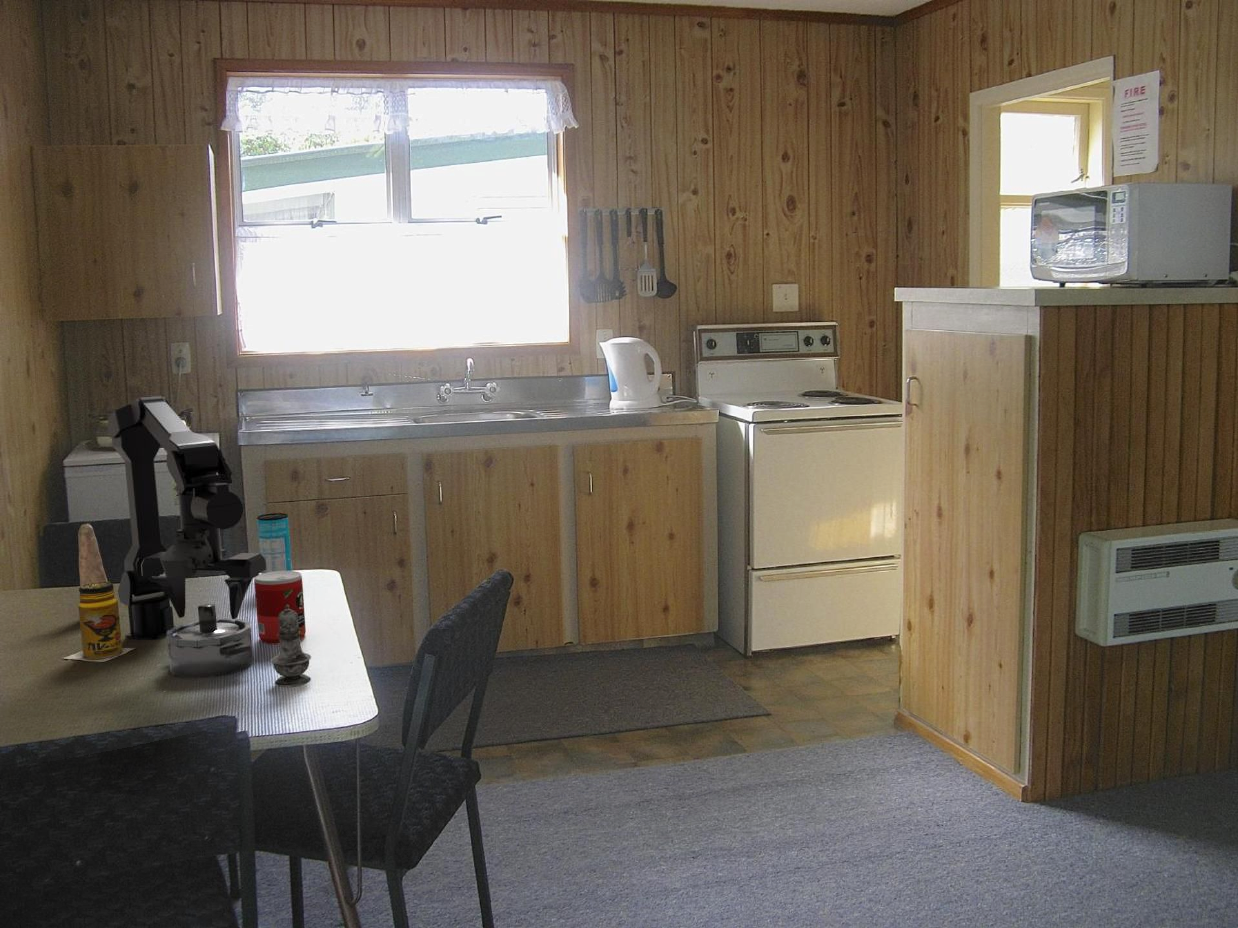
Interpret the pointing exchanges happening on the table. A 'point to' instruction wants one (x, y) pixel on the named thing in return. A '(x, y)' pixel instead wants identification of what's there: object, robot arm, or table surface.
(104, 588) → the condiment
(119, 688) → the table surface
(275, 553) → the beverage can
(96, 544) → the pink tall tapered cone
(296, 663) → the salt shaker
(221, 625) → the lid
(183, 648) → the pot
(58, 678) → the table surface
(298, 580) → the canned food
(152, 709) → the table surface
